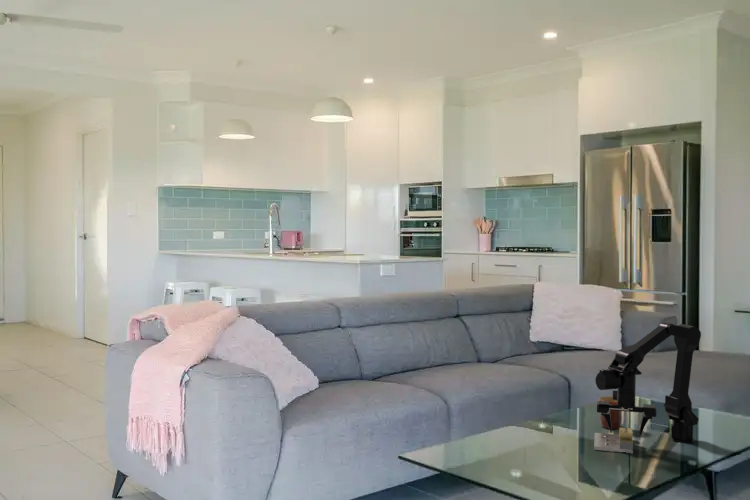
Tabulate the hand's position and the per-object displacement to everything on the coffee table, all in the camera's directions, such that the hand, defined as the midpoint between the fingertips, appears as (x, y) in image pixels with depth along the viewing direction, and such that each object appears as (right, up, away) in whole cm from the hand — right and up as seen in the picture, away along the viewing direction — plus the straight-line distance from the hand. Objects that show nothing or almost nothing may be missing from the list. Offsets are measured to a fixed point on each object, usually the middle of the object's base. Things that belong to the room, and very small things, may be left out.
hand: (625, 434), depth 247 cm
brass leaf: (0, -3, 0) cm, 3 cm away
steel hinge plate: (-4, -4, +1) cm, 6 cm away
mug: (+1, -3, +21) cm, 21 cm away
